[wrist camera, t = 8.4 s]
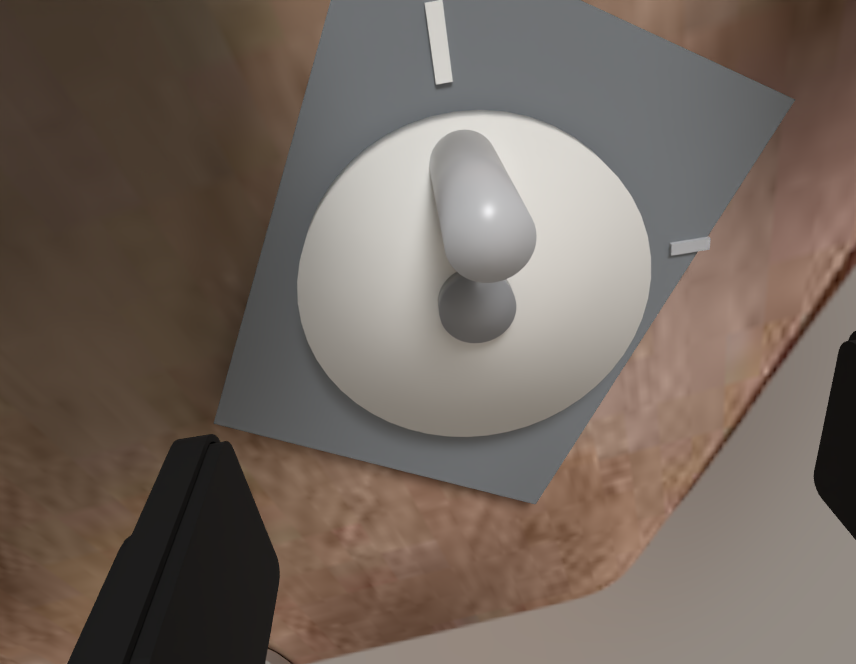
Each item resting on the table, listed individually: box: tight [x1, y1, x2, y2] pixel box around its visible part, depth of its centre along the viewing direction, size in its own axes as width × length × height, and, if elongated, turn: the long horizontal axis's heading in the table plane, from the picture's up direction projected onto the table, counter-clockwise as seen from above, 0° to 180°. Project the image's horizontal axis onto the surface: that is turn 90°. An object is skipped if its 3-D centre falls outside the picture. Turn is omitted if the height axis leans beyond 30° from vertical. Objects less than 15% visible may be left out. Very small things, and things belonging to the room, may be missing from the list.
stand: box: [214, 0, 795, 504], centre depth 27 cm, size 22×17×2 cm
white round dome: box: [297, 110, 651, 437], centre depth 23 cm, size 14×14×8 cm
